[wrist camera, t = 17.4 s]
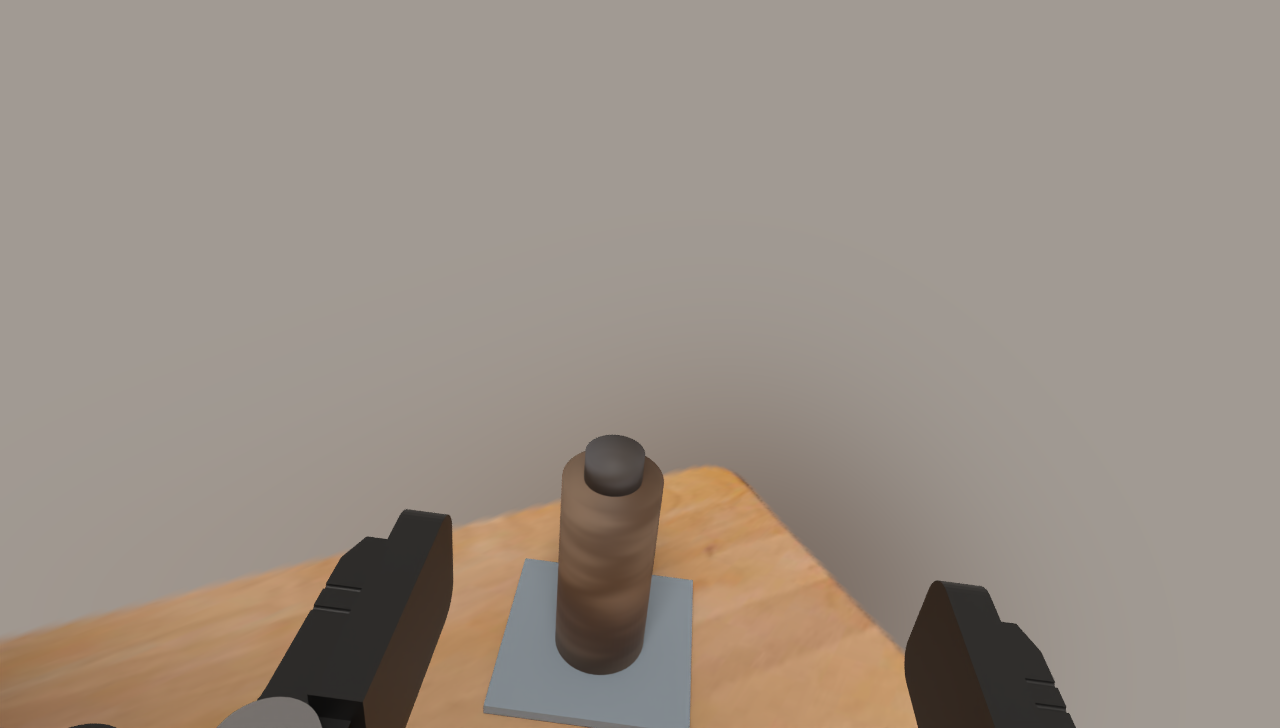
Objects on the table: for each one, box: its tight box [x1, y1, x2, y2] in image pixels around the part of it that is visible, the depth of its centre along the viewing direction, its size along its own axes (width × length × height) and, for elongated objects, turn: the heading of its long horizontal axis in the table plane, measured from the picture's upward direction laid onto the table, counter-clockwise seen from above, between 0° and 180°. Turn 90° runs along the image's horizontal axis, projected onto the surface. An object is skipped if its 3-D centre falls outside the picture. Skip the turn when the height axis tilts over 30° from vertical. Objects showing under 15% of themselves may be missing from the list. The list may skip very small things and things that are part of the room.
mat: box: [484, 558, 693, 728], centre depth 46 cm, size 11×11×1 cm
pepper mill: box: [555, 435, 664, 675], centre depth 42 cm, size 5×5×14 cm
